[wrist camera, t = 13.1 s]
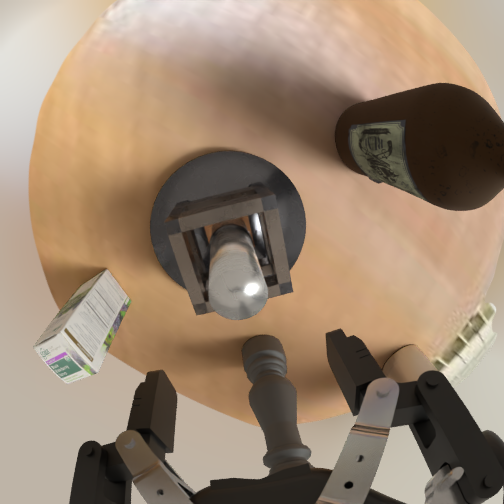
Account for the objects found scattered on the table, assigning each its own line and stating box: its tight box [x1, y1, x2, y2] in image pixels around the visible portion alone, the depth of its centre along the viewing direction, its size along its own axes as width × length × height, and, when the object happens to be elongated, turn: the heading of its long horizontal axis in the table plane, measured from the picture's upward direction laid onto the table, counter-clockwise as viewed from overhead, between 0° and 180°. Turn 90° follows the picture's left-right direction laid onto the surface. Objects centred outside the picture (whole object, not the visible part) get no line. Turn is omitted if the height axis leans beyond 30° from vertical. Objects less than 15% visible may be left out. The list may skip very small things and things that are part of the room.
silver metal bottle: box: [208, 218, 268, 320], centre depth 25 cm, size 4×4×14 cm
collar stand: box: [150, 151, 306, 315], centre depth 29 cm, size 18×18×10 cm
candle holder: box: [242, 335, 315, 476], centre depth 29 cm, size 6×6×25 cm
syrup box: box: [33, 269, 131, 384], centre depth 27 cm, size 6×6×14 cm
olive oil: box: [335, 83, 504, 211], centre depth 19 cm, size 11×11×25 cm
